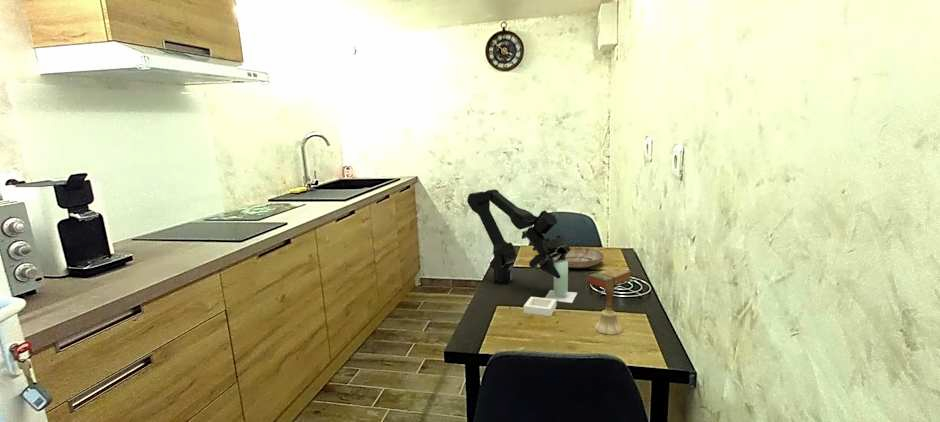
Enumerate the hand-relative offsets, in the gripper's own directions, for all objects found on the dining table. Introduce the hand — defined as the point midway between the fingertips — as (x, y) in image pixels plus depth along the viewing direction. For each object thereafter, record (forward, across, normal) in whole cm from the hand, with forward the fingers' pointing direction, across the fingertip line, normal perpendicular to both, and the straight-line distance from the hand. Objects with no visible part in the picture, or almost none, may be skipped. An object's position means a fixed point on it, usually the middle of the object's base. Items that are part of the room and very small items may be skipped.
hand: (563, 276), depth 168 cm
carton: (+9, +27, +4) cm, 28 cm away
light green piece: (+3, 0, +5) cm, 6 cm away
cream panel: (+5, 0, +7) cm, 9 cm away
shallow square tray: (+6, -14, +6) cm, 17 cm away
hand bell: (+23, -12, -11) cm, 28 cm away
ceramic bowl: (-8, +39, +20) cm, 45 cm away
